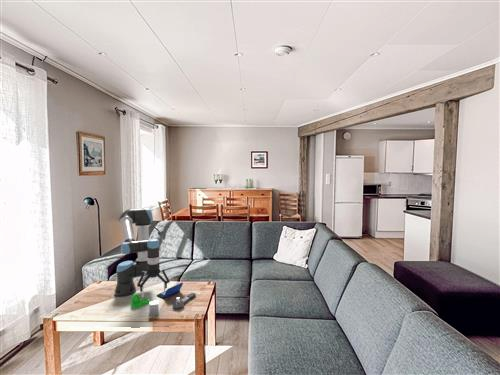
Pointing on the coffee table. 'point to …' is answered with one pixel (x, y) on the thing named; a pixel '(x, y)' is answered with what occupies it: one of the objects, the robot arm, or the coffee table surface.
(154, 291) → the coffee table surface
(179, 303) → the ladle
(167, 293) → the handheld game console
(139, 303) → the mechanical part
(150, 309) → the grey metal block
